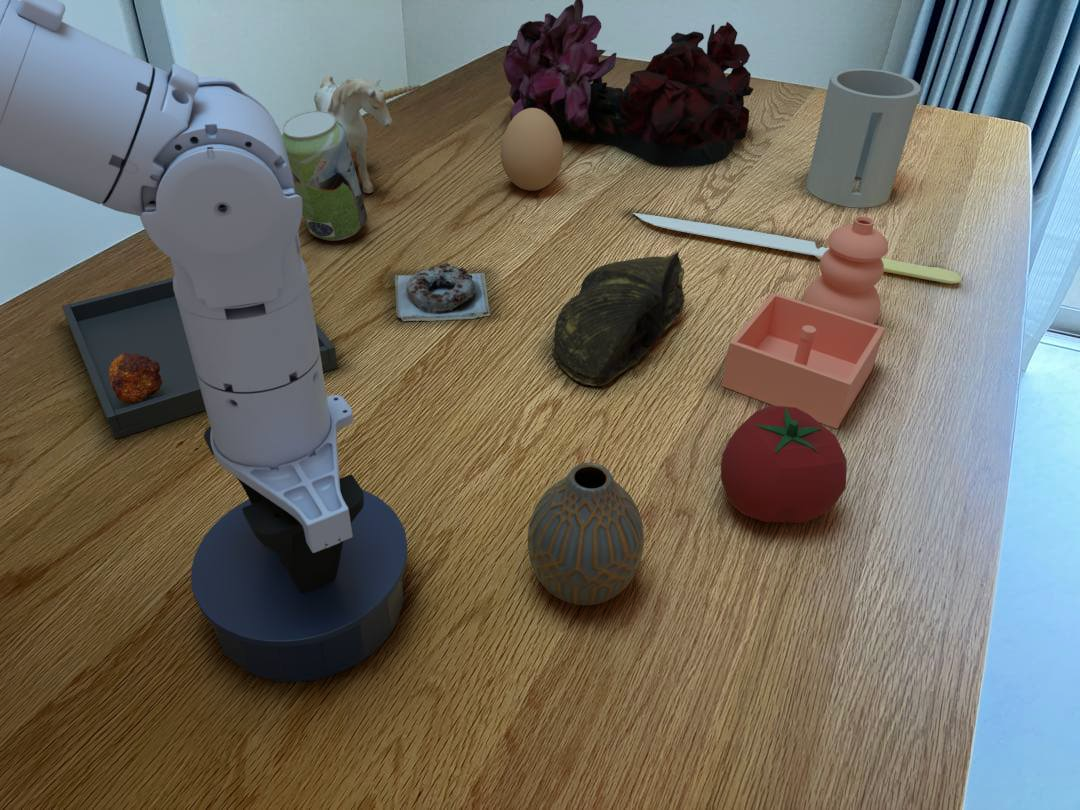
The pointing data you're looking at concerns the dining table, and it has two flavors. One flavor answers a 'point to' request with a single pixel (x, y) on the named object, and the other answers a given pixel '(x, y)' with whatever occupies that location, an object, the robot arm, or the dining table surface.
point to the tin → (316, 648)
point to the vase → (585, 537)
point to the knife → (793, 246)
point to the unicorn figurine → (357, 112)
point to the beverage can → (324, 175)
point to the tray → (145, 353)
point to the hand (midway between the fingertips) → (299, 551)
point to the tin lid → (270, 594)
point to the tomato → (783, 466)
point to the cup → (862, 136)
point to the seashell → (617, 317)
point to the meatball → (134, 377)
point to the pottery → (816, 333)
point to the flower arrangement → (633, 90)
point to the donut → (441, 294)
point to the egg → (532, 150)
